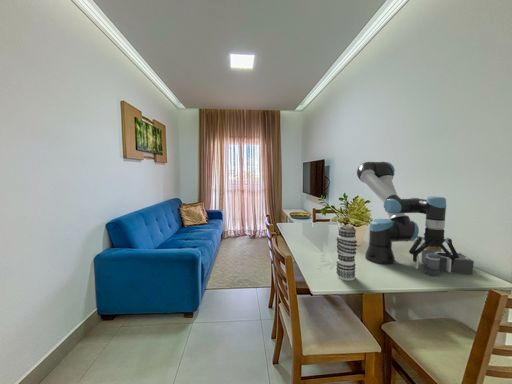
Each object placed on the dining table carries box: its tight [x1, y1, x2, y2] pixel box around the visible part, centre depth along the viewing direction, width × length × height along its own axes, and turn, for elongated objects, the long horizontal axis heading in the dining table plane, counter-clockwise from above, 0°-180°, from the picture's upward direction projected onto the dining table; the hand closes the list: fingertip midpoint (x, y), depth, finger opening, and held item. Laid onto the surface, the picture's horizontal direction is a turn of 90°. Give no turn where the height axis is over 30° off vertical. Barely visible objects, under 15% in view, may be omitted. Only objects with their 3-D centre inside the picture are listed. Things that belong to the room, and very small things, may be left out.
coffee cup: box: [423, 232, 442, 252], centre depth 138 cm, size 10×10×15 cm
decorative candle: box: [335, 224, 358, 282], centre depth 112 cm, size 9×9×25 cm
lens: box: [424, 253, 440, 277], centre depth 115 cm, size 6×6×10 cm
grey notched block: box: [420, 249, 475, 275], centre depth 123 cm, size 18×12×8 cm, turn 72°
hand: (432, 269), depth 116 cm, fingers open, 13 cm apart
